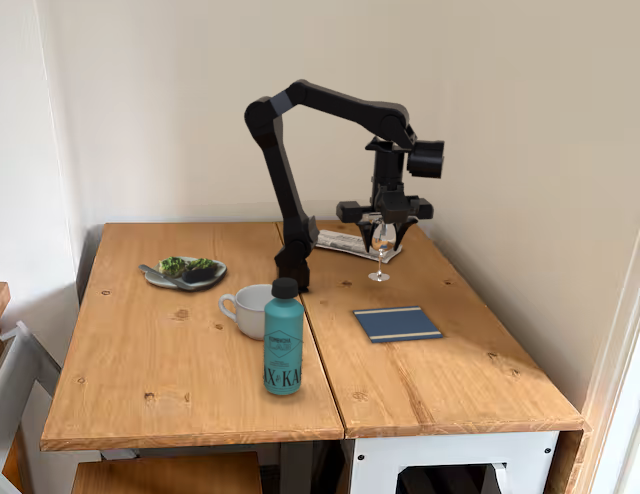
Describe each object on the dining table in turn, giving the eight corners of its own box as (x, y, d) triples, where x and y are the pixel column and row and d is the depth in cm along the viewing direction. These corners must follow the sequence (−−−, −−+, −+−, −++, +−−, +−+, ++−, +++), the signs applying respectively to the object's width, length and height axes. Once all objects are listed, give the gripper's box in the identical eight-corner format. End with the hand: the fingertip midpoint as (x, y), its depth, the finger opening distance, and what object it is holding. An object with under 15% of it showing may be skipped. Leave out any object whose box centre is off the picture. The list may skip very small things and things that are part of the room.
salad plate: (121, 286, 156) (119, 266, 154) (159, 258, 170) (158, 240, 168) (202, 299, 151) (201, 278, 148) (234, 269, 165) (234, 250, 163)
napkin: (372, 343, 134) (372, 341, 134) (352, 311, 146) (352, 310, 146) (442, 337, 137) (443, 335, 136) (417, 307, 148) (418, 305, 148)
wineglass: (391, 283, 147) (397, 226, 140) (363, 280, 148) (368, 224, 141) (393, 272, 152) (399, 217, 145) (366, 270, 152) (371, 215, 146)
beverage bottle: (261, 383, 121) (261, 273, 111) (300, 382, 122) (303, 272, 111) (264, 404, 116) (263, 289, 105) (304, 402, 116) (308, 288, 106)
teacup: (298, 326, 140) (299, 288, 136) (280, 350, 131) (281, 310, 127) (232, 315, 144) (231, 278, 140) (211, 338, 135) (209, 299, 131)
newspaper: (301, 247, 178) (301, 237, 177) (324, 238, 188) (325, 228, 186) (384, 264, 168) (385, 254, 167) (404, 254, 177) (405, 244, 176)
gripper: (352, 187, 130) (347, 268, 138) (449, 183, 133) (438, 263, 141) (337, 172, 139) (333, 248, 148) (428, 168, 142) (419, 244, 151)
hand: (381, 251), depth 147 cm, fingers closed on wineglass, 5 cm apart
